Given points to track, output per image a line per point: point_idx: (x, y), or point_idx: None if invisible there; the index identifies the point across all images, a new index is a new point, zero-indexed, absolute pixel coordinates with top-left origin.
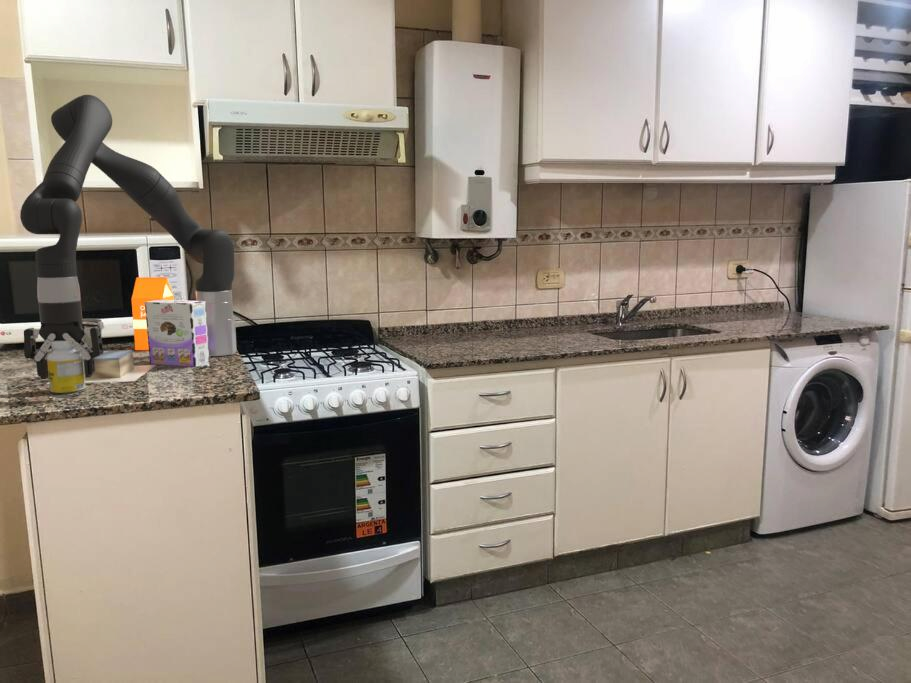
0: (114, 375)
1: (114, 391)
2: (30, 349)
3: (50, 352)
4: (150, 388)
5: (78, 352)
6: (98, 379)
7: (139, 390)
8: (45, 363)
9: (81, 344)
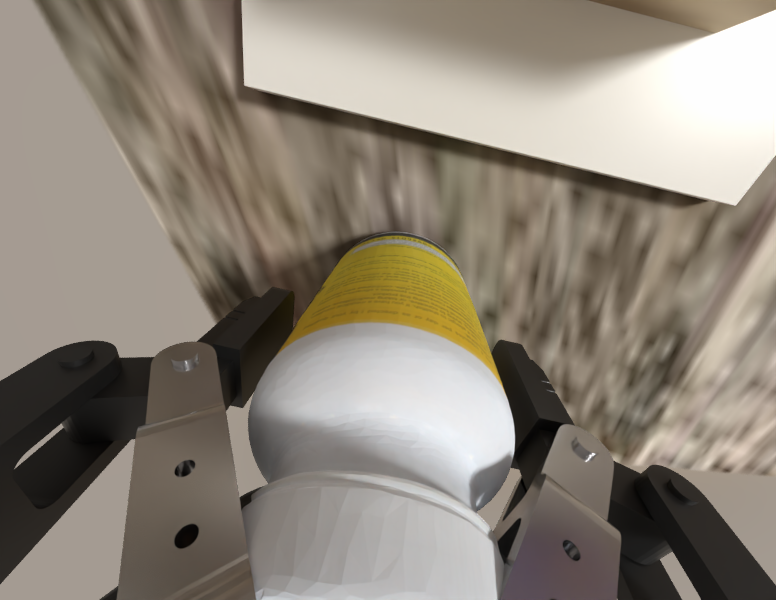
0: (691, 11)
1: (577, 294)
2: (81, 491)
3: (266, 478)
4: (741, 294)
5: (488, 501)
6: (554, 47)
7: (678, 315)
8: (252, 359)
9: (553, 554)
